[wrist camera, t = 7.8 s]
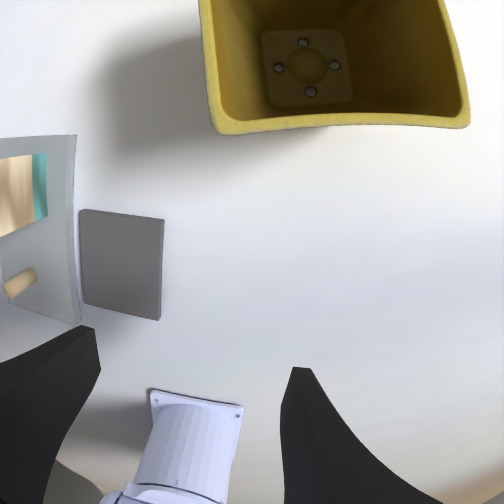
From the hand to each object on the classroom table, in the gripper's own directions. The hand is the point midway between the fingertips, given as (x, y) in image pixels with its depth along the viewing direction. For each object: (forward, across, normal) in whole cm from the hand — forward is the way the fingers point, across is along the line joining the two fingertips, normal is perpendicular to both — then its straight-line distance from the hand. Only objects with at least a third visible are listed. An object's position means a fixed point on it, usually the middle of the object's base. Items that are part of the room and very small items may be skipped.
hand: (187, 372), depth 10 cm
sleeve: (+9, +15, -4) cm, 18 cm away
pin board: (+10, +15, 0) cm, 18 cm away
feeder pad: (+10, +7, +1) cm, 12 cm away
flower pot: (+10, -3, -13) cm, 17 cm away
